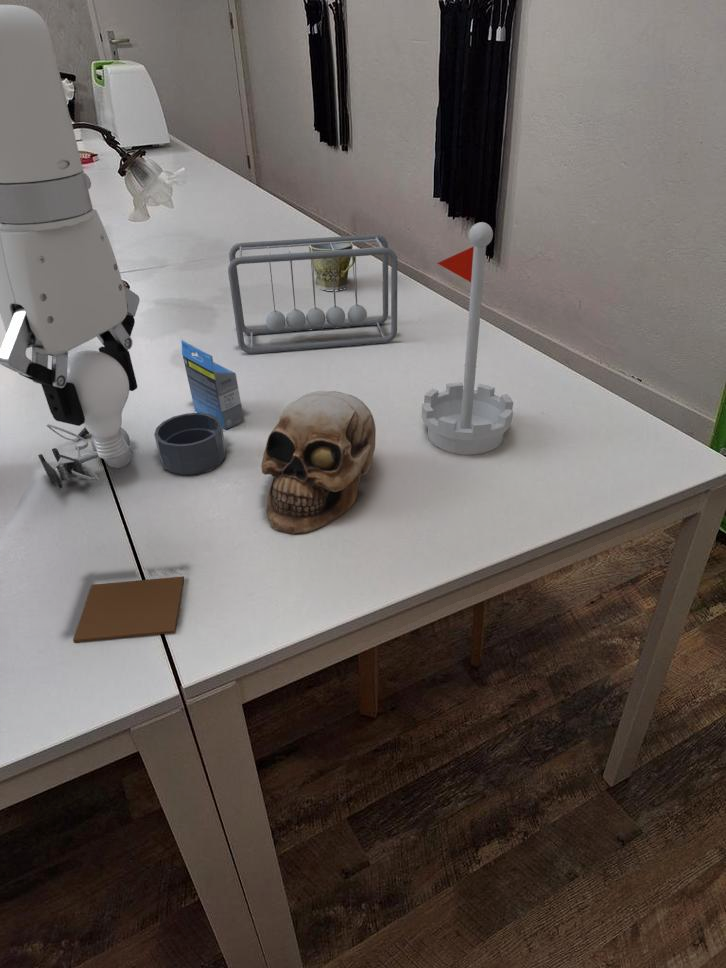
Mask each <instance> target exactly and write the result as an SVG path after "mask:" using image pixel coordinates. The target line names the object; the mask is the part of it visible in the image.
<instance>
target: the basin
mask: <svg viewBox="0 0 726 968" xmlns="http://www.w3.org/2000/svg"><path fill="white" fill-rule="evenodd" d="M223 429H224V428H223V427H222V423H221V422H220V421H219V419H218V418H217V417H215V416H212V415H210V414H204V413H197V412H189V413H187V412H186V413H181V414H178V415H175V416H172V417H169V418H167V419H166V420H164V421H161V423H160V424H159V425H157V426H156V427H155V430H154V433H153V437H154V440H155V445H156V449H157V452H158V457H159V460H160V463H161V465H162V467H163V468H164V469H165V470H167V471H169V472H171V473H173V474H176V475H179V476H180V475H181V476H194V475H200V474H204V473H207V472H209V471H212V470H213V469H216V468H217V466H219V465H220V464H221V463H222V462H223V460H224V459H225V458H226V454H227V448H226V441H225V436H224V430H223Z"/></svg>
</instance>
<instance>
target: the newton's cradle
mask: <svg viewBox="0 0 726 968" xmlns="http://www.w3.org/2000/svg"><path fill="white" fill-rule="evenodd" d="M372 242H377V244H378V245H379V246H378V247H363V248H355V246H354V244H359V243H372ZM343 243H351V249H346V250H332V249H333V247H332V248H331V251H316V252H311V251H312V249H311V246H312V245H327V244H330V246H332V245H331V244H343ZM352 243H353V244H352ZM352 245H353V247H352ZM309 246H310V251H303V252H302V251H301V252H291V248H294V247H295V248H296V247H309ZM279 248H281V249H282V248H288V253H287V252H286V253H273V254H271V253H270V249H279ZM265 249H267V253H268V254H257V255H256V254H255V255H243V256H242V253H243V252H242V251H245V250H246V251H247V250H248V251H249V250H265ZM237 252H238V253H239V256H238V257H236V254H237ZM354 256H355V263H354V264H353V266H352V272H353V273H352V274H353V283H354V284H353V286H354V294H355V295H354V297H355V304H354V305H352V306H350V307H349V309H348V311H347V319H348V321H346V312H345V310H344V309H343V308H342V307H340V306H337V304H336V303H337V302H336V300H337V299H336V292H335V263H334V278H333V291H334V292H333V306H331V307H329V308H328V310H327V311H326V313H325V312H324V310H322V309H321V308H319V307H317V305H316V288H315V286H316V285H315V270H314V266H313V259H324V258H331V261H332V258H333V259H334V258H339V257H351V260H352V262H353V257H354ZM366 256H382V259H381V261H382V315H381V316H380V317H379V318H375V319H367V317H368V312H367V309H366V308H365V307H364V306H363V305H361V304H358V286H357V284H358V283H357V280H356V278H357V259H356V258H357V257H366ZM389 257H390V260H391V261H390V262H391V264H390V266H391V267H390V270H391V271H390V272H391V273H390V276H391V277H390V297H391V298H390V314H391V315H390V316H391V317H390V319H391V320H390V330H391V331H390V333H389V334H388V335H387V336H385V334H384V331H383V330H382V327H381V326H380V325H382V324H384V323H385V322H386V321H387V319H388V317H389ZM228 259H229V264H228V267H227V274H228V280H229V281H228V282H229V287H230V295H231V296H230V297H231V302H232V309H233V316H234V322H235V323H234V324H235V330H236V338H237V344H238V347H239V348H240V350H241V351H243V352H244V353H246V354H250V355H254V354H256V355H257V354H266V353H279V352H290V351H304V350H303V349H305V350H316V349H315V348H317V349H327V347H330V348H339V347H338V346H342V347H352V346H351V345H354V346H364V345H363V344H366V345H377V344H376V343H379V344H386V343H390V342H392V341H393V340H394V339H395V338H396V336H397V333H398V273H399V271H398V270H399V269H398V268H399V267H398V266H399V265H398V263H399V262H398V260H399V259H398V255H397V253H396V252H395V251H394V250H393V249H391V248H389V242H388V241H387V238H386V237H384V236H383V235H381V234H375V233H373V234H359V235H358V234H357V235H345V236H343V235H342V236H328V237H327V236H325V237H312V238H295V239H282V240H281V239H280V240H265V241H264V240H263V241H249V242H248V241H247V242H238V243H235V244H233V245H232V247H230V250H229V252H228ZM306 260H310V268H311V279H312V292H313V304H314V307H313V308H310V309H309V310H308V311H307V313H306V314H305V313H304V312H303V311H301V310H300V309H297V308H296V298H295V296H296V295H295V283H294V273H293V272H294V271H293V261H306ZM276 262H277V263H278V262H289V263H290V275H291V284H292V296H293V297H292V298H293V307H294V308H293V309H291V310H290V311H288V313H287V314H286V316H285V314H283V313H282V312H281V311H279V310H276V304H275V295H274V286H273V284H274V283H273V276H272V267H271V266H272V265H271V263H276ZM352 262H351V263H352ZM262 263H263V264H264V263H269V273H270V283H271V292H272V301H273V310H272V311H270V312H269V313H268V314H267V315H266V318H265V323H266V326H267V327H263V328H248V327H247V326H246V325H245V319H244V318H245V317H244V312H243V311H244V310H243V304H242V295H241V289H240V288H241V287H240V281H239V273H238V266H239V265H247V264H262ZM332 276H333V263H332ZM306 323H307V324H306ZM286 324H287V326H286ZM374 324H377V325H376V326H377V328H378V330H379V332H380V334H381V336H380V337H370V338H356V339H355V338H354V339H343V340H332V341H331V340H330V341H320V342H319V341H318V342H305V343H294V344H291V343H290V344H281V345H267V346H254V336H255V335H270V334H281V333H292V332H293V331H296V332H302V331H301V330H308V331H311V330H310V329H321V330H324V329H323V328H334V329H337V328H336V327H347V328H351V327H350V326H360V327H363V326H362V325H372V326H375V325H374ZM379 324H380V325H379ZM293 333H294V332H293ZM244 334H246V335H248V336H250V347H249V346H247V345H246V343H245V337H244Z"/></svg>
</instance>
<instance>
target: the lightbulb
mask: <svg viewBox="0 0 726 968" xmlns="http://www.w3.org/2000/svg"><path fill="white" fill-rule="evenodd" d="M67 382H69V383H73V384H74V385H75V388H76V391H77V394H78V397H79V401H80V404H81V407H82V411H83V414H84V417H85V422H84V423H83V424H82V425H83V426H84V428H86V429H87V431H88V432H89V435H91V439H92V438H93V441H94V443H95V446H96V450H97V454H98V456H99V457H98V458H100V457H101V458H100V459H103V458H104V459H115V458H117V457H119V456H120V455H122V454H123V453H124V452H125V450H126V447H125V444H124V440H123V436H122V432H121V429H120V428H121V427H122V423H123V419H122V418H123V417H122V416H123V415H122V414H123V410H124V408H125V406H126V403H127V402H128V398H129V394H130V391H129V379H128V376H127V374H126V372H125V370H124V368H123V367H122V365H121V364H120V363H119V362H118V361H117V360H116V359H114V358H113V357H111V356H110V355H108V354H106V353H103V352H99V350H93V349H92V350H91V349H90V350H81V351H78V352H75V353H73V354H71V355H68V367H67ZM104 459H103V460H104Z"/></svg>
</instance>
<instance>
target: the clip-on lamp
mask: <svg viewBox="0 0 726 968" xmlns="http://www.w3.org/2000/svg"><path fill="white" fill-rule="evenodd" d="M46 427H47V428H48V429H49V430H51V431H52V432H53V433H55V434H56V435H58V436H59V437H61V438H63V439H65V440H67V441H72V442H76V441H79V440H81V441H83V442H85V444H83V445H79V446H78V445H75V446H74V449H75V450H76V451H77V455H78V456H77V457H74V458H73V457H69V456H66V455H63V454H60V451H59V450H58V448H57V447H53V448H51V452H52V454H53V456H54V459H55V462H48V461H46V459H45V456H44V455H43V454H42V453H40V454H37V456H38V458H39V461H40V463H41V464H42V467H43V468H44V471H45V473H46V475H47V477H48V479H49V482H50V483H51V484H53V485H56V486H57V488H58V489H59V490H61V489H63V488H64V486H63V485H64V484H65V483H66V482H67V481H69V480H70V481H71V480H77V479H83V480H87V481H91V482H98V480H99V476H98V475H97V474H96V473H95V472H94V471H93V470H91V469H90V468H85V469H84V468H83V463H86V462H89V461H91V460H94V459H98V458H100V459H102V460H104V462H105V463H106V465H108V466H109V467H111V468H116V469H120V468H124V467H126V466H127V465H128V464H129V463H130V461H131V460H132V456H133V453H132V450H131V448H130V446H131V440H130V435H129V434H128V432H127V431H126V430H125V429H124V428H123V427H122V426H121V428H120V429H121V432H122V436H123V440H124V444H125V447H126V450H125V452H124V453H123V454H122V455H120V456H119V457H117V458H115V459H104V458H101V457H99V456H98V454H97V450H96V446H95V443H94V441H93V438H92V437H91V441H90V444H91V448H92V450H93V451H91V452H88V453H86V454H82V455H81V452H80V451H81V450H84V449H86V448H88V446H89V442H88V441H87V439H85V437H86V436H88V435H90V433H89V432H88V431H87V429H86V428H85V427H84V428H83V429H82V430H80V432H78V434H76V433H74V432H72V431H69V430H66V429H64V428H61V427H59V426H56V425H53V424H49V423H47V424H46ZM56 430H58V431H61V432H64V433H66V434H69V435H71V436H73V437H76V438H69V437H66V436H64V435H62V434H60V432H57V431H56ZM56 470H57V471H58V473H59V475H58V473H57V471H56ZM87 473H88V474H90V475H91V476H88V475H86V474H87ZM59 476H60V477H59Z"/></svg>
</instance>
